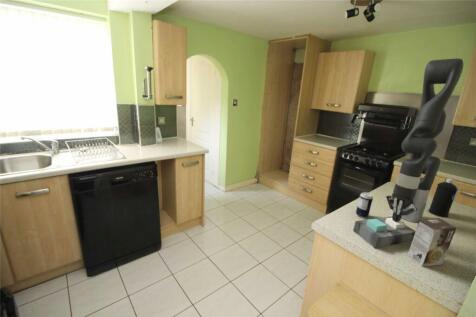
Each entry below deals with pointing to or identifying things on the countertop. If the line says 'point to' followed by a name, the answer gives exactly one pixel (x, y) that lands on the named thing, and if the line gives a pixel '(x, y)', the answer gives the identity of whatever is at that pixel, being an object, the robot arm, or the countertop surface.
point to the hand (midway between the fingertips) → (395, 220)
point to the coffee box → (431, 241)
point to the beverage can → (364, 205)
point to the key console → (383, 234)
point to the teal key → (376, 225)
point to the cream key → (395, 223)
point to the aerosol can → (443, 198)
